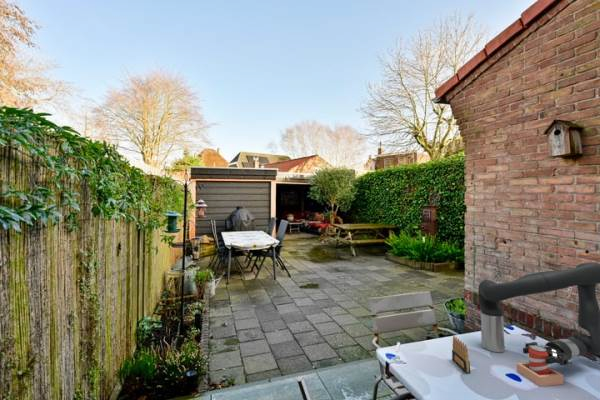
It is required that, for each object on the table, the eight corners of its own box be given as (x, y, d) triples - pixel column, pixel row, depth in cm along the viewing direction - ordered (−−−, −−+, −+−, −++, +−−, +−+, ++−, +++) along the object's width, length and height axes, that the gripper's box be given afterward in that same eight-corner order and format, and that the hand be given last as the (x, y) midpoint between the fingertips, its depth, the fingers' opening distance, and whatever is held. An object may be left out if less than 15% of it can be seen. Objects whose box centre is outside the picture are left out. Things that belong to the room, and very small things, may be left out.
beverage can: (530, 371, 120) (529, 342, 120) (550, 377, 115) (549, 347, 116) (528, 377, 116) (527, 348, 116) (549, 384, 111) (547, 353, 111)
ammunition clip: (470, 373, 119) (469, 345, 120) (466, 373, 119) (464, 345, 120) (456, 360, 130) (454, 334, 130) (452, 360, 130) (450, 334, 130)
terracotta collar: (540, 386, 110) (539, 377, 110) (516, 371, 120) (516, 363, 120) (563, 384, 111) (563, 375, 111) (538, 369, 121) (538, 361, 121)
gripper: (543, 333, 127) (516, 339, 122) (582, 348, 113) (554, 355, 109) (544, 350, 126) (517, 356, 122) (583, 367, 113) (555, 374, 108)
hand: (534, 356), depth 115 cm, fingers open, 8 cm apart
